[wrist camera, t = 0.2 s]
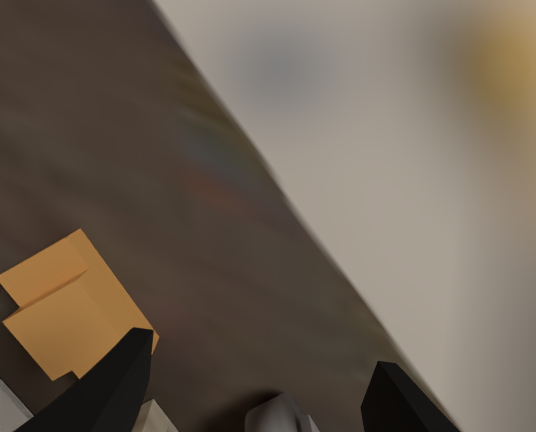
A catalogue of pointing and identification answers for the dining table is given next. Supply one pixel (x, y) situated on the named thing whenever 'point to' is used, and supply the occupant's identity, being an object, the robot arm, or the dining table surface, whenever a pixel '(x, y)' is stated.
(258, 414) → the trolley
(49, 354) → the tan stepped block
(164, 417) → the pin socket
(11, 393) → the parts tray
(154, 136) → the dining table surface
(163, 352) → the dining table surface
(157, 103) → the dining table surface
